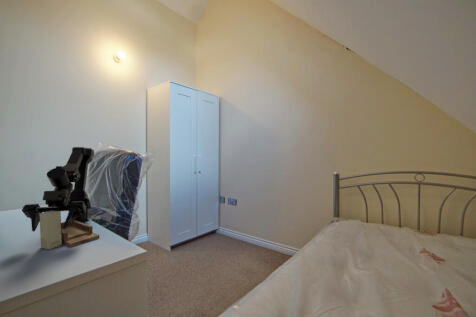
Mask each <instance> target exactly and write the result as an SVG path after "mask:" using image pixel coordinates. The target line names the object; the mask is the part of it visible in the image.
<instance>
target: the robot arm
mask: <svg viewBox="0 0 476 317" xmlns="http://www.w3.org/2000/svg"><path fill="white" fill-rule="evenodd" d="M94 156H95V150H94V149H92V148H91V147H84V146H73V147H72V149H71V153H70V155H69V158H68V159H67V161H66V164H65V165H64V166H62V165H56V167H54V168H51V169H49V170H48V171H47V173H46V177H47V179H48V181H49V182H50V184H51V186H52V187H54V190H44V192H43V196H42V201H45V202H44V204H45V205H46V206H40V204H39V203H29V204H27V203H26V204H25V205H23V206H22V209H21V212H22V213H23V214H24V216H26V218H29V219H30V221H31V222H30V223H31V231H32V232H36V230H37V228H38V225H40V213H44V212H49V211H59V212H68V214H67V216H66V219H65V221H64V222H65V223H64V229H66V228H67V226H68V225H69V224H70V223H71V222H72V221H73V220H76V221H79V222H82V223H84V222H89V221H90V219H89V215H88V213H89V212H88V210H90V209H91V208H92V207H91V206H92V203H91V200H90V198H89V195H88V193H87V191H86V184H87V177H88V176H87V175H88V169H89V164H90V163H91V162H92V161H93V158H94ZM73 183H74V184H73Z"/></svg>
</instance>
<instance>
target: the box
mask: <svg viewBox="0 0 476 317" xmlns="http://www.w3.org/2000/svg"><path fill="white" fill-rule="evenodd" d="M61 212H62V211H49V212H42V213H40V222H39V228H40V229H39V232H40V233H39V236H40V239H39V240H40V248H41V249H45V250H52V249H55V248H58V247H60V246H62V244H63V243H62V237H61V223H62V215H61V214H62V213H61Z"/></svg>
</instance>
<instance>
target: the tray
mask: <svg viewBox="0 0 476 317" xmlns="http://www.w3.org/2000/svg"><path fill="white" fill-rule="evenodd" d="M64 223H65V221H63V222H61V237H62V244H64V245H66V246H67V247H70V248H72V247H75V246H79V245H81V244H85V243H87V242H91V241H94V240H97V239H99V238H100V234H98V233H95V232H93V225H91V224H87V223H84V222H79V221H76V220H73V221H72V222H71V223H70V224H69V225H68V226H67V228H66V229H64Z"/></svg>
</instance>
